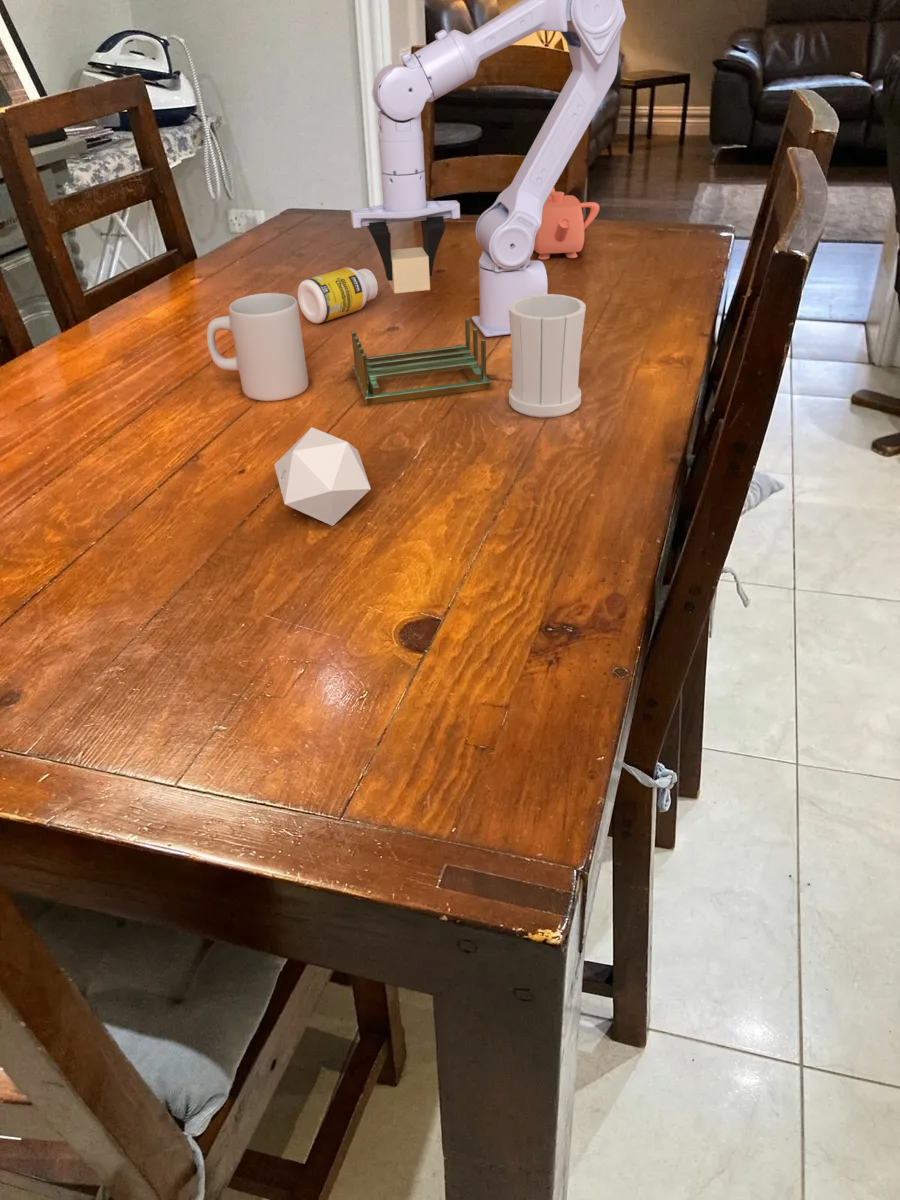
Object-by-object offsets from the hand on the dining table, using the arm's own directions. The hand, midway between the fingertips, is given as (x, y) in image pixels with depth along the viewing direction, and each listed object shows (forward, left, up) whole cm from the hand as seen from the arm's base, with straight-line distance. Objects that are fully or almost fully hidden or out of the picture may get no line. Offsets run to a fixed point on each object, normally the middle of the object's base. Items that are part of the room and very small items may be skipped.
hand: (409, 276), depth 130 cm
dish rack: (+2, +17, -8) cm, 19 cm away
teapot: (-33, -33, -9) cm, 47 cm away
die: (+18, +47, -9) cm, 51 cm away
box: (0, 0, -1) cm, 1 cm away
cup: (-11, +27, -9) cm, 31 cm away
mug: (+22, +12, -9) cm, 27 cm away
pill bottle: (+14, -10, -5) cm, 18 cm away
